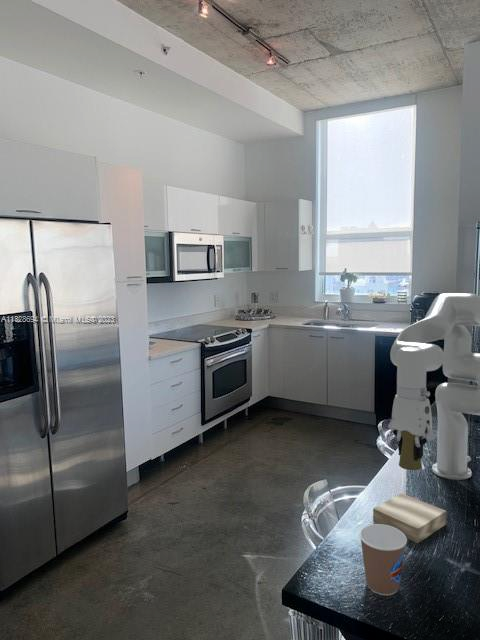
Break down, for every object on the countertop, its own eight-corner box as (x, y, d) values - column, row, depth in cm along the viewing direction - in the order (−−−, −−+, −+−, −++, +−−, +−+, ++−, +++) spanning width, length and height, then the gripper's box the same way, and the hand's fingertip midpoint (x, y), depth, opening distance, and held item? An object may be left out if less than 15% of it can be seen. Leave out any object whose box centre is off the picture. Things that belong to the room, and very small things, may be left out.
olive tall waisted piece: (423, 470, 130) (424, 431, 129) (400, 469, 131) (400, 430, 130) (419, 462, 136) (420, 424, 135) (397, 460, 137) (397, 423, 136)
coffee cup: (399, 607, 102) (400, 554, 101) (352, 591, 108) (353, 540, 107) (411, 580, 111) (411, 531, 110) (367, 566, 117) (367, 519, 115)
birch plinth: (401, 505, 145) (401, 493, 145) (445, 524, 134) (446, 510, 134) (373, 521, 136) (373, 508, 136) (417, 543, 125) (418, 528, 125)
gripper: (447, 395, 127) (446, 462, 129) (392, 384, 140) (392, 445, 142) (432, 401, 123) (430, 470, 125) (377, 389, 136) (376, 451, 138)
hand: (410, 456), depth 133 cm, fingers closed on olive tall waisted piece, 4 cm apart
